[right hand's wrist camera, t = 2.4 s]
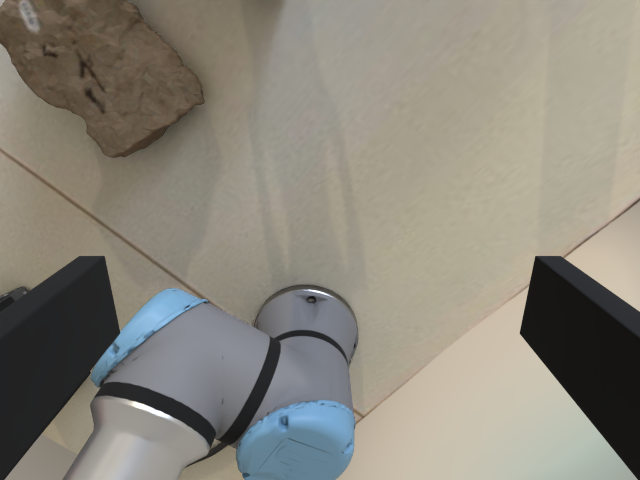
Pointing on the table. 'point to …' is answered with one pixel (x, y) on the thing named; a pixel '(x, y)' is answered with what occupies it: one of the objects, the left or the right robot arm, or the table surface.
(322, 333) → the right robot arm
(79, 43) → the stone
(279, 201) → the table surface
